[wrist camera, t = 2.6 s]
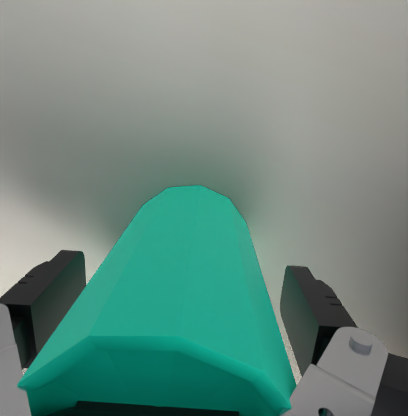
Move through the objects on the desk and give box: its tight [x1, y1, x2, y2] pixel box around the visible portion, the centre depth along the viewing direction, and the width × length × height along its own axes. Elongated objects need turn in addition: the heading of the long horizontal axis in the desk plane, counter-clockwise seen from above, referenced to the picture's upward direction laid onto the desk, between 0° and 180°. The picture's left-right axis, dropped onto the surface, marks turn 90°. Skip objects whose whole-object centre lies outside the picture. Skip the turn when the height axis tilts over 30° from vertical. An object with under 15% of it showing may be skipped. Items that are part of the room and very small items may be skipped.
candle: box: [17, 185, 297, 416], centre depth 10 cm, size 6×6×12 cm
